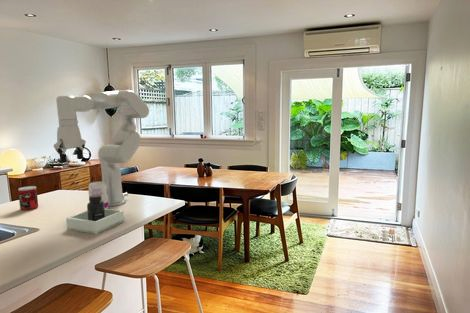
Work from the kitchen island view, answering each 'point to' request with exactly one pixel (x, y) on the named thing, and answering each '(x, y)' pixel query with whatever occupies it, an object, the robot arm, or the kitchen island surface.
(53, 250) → the kitchen island surface
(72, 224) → the bin
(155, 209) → the kitchen island surface
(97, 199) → the supplement bottle
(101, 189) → the supplement can
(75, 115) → the robot arm
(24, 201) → the canned food
